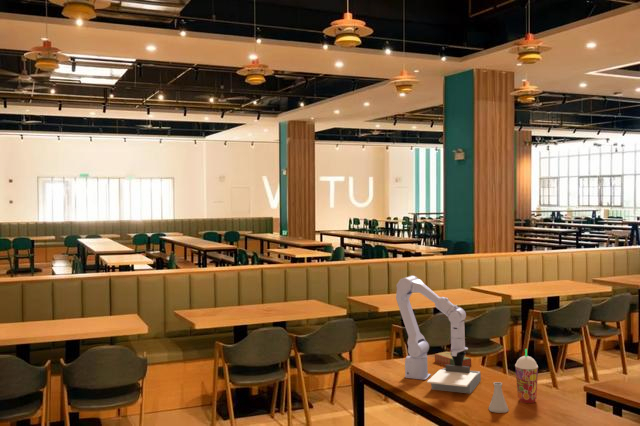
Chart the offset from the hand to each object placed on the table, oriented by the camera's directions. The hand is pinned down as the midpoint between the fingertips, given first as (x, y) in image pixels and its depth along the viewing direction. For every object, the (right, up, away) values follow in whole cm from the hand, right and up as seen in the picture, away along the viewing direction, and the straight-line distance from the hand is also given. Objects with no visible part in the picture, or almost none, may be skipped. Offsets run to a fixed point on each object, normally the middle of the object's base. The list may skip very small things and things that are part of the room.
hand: (458, 369), depth 270 cm
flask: (+7, -7, -35) cm, 36 cm away
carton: (+4, -5, +29) cm, 29 cm away
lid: (-4, -2, -9) cm, 10 cm away
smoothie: (+21, -6, -26) cm, 34 cm away
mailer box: (-2, -6, -4) cm, 7 cm away
